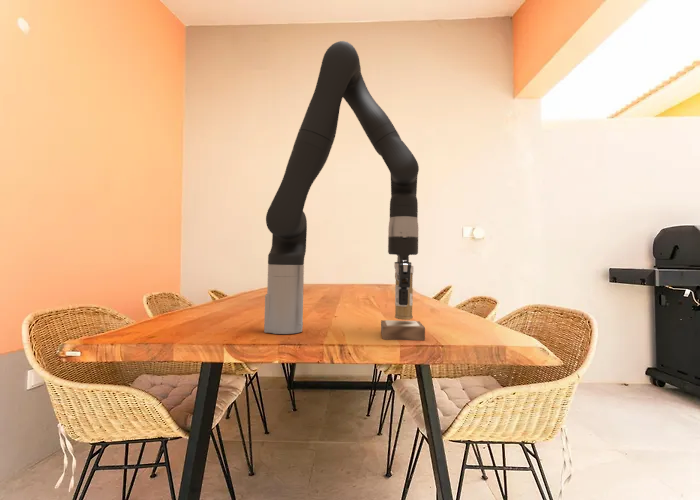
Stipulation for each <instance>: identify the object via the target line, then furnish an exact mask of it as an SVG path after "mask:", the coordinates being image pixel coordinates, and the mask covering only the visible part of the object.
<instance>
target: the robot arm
mask: <svg viewBox="0 0 700 500" xmlns="http://www.w3.org/2000/svg"><path fill="white" fill-rule="evenodd" d="M321 60H322V61H321V65H320V70H319V73H318V77H317V81H316V86H315V88H314V91H313V95H312V97H311V99H310V101H309V105H308V107H307V109H306V112H305V114H304V117H303V118H302V119H303V120H302V122H301V125H300V126H299V129H298V132H297V135H296V138H295V140H294V144H293V147H292V150H291V153H290V156H289V159H288V161H287V163H286V169H285V171H284V174H283V176H282V180H281V181H280V184H279V187H278V189H277V190H276V193H275V195H274V197H273V199H272V201H271V203H270V205H269V207H268V208H267V209H268V210H267V212H266V215H265V223H266V226H267V229H268V231H269V232H270V233H271V235H272V236H271V237H272V238H271V247H270V251H269V253H268V255H267V291H266V292H267V293H266V294H265V295H264V321H263V322H264V327H263V328H264V330H263V332H264V333H269V334H274V335H291V334H299V333H301V332H303V328H304V327H303V326H304V322H303V320H304V319H303V317H304V316H303V315H304V314H303V313H304V283H305V282H304V278H305V277H304V275H305V273H304V272H305V270H304V269H305V258H306V257H305V255H306V251H307V235H308V234H307V232H308V230H307V229H308V227H307V226H308V223H307V217H306V216H307V215H306V214H305V212H304V208H305V204H306V200H307V198H308V194H309V191H310V190H311V188H312V185H313V183H314V182H315V180H316V178H317V177H319V174H320V173H321V171H322V170H323V168H324V166H325V164H326V163H327V161H328V158H329V155H330V154H331V151H332V148H333V144H334V141H335V138H336V134H337V130H338V129H337V128H338V122H339V116H340V110H341V104H342V100H343V99H344V101H345V102H346V103H347V105H348V106H349V107H350V109H351V110H352V112H353V113H354V115H355V117H356V119H357V120H358V122H359V124H360V126H361V128H362V129H363V131H364V133H365V135H366V136H367V138H368V140H369V142H370V143H371V145H372V147H373V148H374V150H375V151H376V152H377V154H378V155H379V156H381V158H382V160H383V161H384V163H385V165H386V167H387V169H388V171H389V173H390V195H391V196H390V201H389V221H388V228H387V229H388V230H387V231H388V236H387V253H388V255H396V256H397V257H396V259H397V260H396V261H394V263H393V265H394V270H395V269H396V272H395V271H394V272H395V273H394V279H395V280H396V279H397V280H398V288H399V289H400V290H399V304H400V305H407V304H408V290H409V288H410V279H411V267H412V266H413V265H412V262H410V259H409V258H410V256H415V255H418V253H419V222H418V221H419V219H418V218H419V217H418V215H419V213H418V212H419V211H418V208H419V207H418V206H419V205H418V204H419V202H418V198H417V192H418V177H419V176H418V175H419V170H420V168H419V162H418V160H417V159H416V157H415V156H414V154H413V153H412V151H411V150H410V149H409V147H408V146H407V145H406V143H405V142H404V141H403V140H402V138H401V137H400V134H399V132H398V131H397V129H396V128H395V126H394V123H393V122H392V121H391V119H390V117H389V116H388V115H387V114H386V112H385V111H384V109H383V108H382V107H381V106H380V105H379V104H378V103H377V102H376V100H375V99H374V98H373V96H372V94H371V93H370V91H369V88H368V87H367V85H366V82H365V80H364V78H363V77H364V76H363V74H362V71H361V69H362V68H361V63H360V57H359V54H358V52H357V49H356V48H355V47H354V45H353V44H351V43H350V42H348V41H345V40H340V41H336V42H334V43H332V44H331V45H330V46H328V48H327V49H326V50H325V53H324V55H323V58H322V59H321ZM399 275H400V276H399ZM402 280H406V282H402Z"/></svg>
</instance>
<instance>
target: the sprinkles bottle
mask: <svg viewBox="0 0 700 500" xmlns="http://www.w3.org/2000/svg"><path fill="white" fill-rule="evenodd" d="M411 266H412V267H411V279H410V288H409V290H408V304H407V305H400V304H399V290H400V289H399V288H398V280H397V279H395V287H394V288H395V289H394V291H395V294H394V301H395V302H394V306H395V309H394V312H395V313H394V318H395V319H397V320H401V321H411V320H412V319H413V317H414V316H413V303H414V302H413V295H414V292H413V291H414V290H413V288H414V287H413V276H414V265H411ZM394 272H396V269H395V268H394ZM399 276H400V275H399ZM402 282H406V280H402Z"/></svg>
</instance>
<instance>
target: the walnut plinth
mask: <svg viewBox="0 0 700 500" xmlns="http://www.w3.org/2000/svg"><path fill="white" fill-rule="evenodd" d="M380 334H381V337H382V340H395V341H396V340H397V341H398V340H403V341H405V340H406V341H425V339H426V328H425V326H424V324H423V323H421V321H420V320H419V321H417V320H395V319H394V320H392V319H390V320H389V319H388V320H387V319H386V320H381V321H380Z"/></svg>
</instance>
